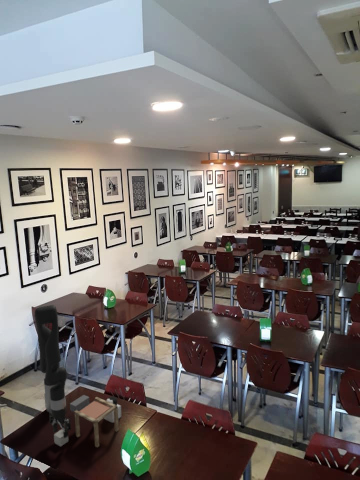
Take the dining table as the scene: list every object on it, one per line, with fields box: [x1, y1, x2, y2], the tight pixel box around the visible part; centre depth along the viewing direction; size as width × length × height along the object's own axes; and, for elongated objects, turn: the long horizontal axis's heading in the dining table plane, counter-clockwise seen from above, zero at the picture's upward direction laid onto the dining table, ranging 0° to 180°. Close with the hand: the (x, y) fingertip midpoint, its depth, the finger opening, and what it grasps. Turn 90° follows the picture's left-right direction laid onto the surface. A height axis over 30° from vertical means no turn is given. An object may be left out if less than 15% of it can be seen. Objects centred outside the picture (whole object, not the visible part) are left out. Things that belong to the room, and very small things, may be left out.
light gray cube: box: [53, 428, 69, 447], centre depth 190 cm, size 5×5×5 cm
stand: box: [74, 396, 120, 448], centre depth 196 cm, size 16×16×14 cm
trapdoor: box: [69, 394, 111, 419], centre depth 198 cm, size 20×12×4 cm, turn 56°
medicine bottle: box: [103, 396, 122, 424], centre depth 209 cm, size 7×7×12 cm
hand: (60, 434), depth 190 cm, fingers open, 8 cm apart
